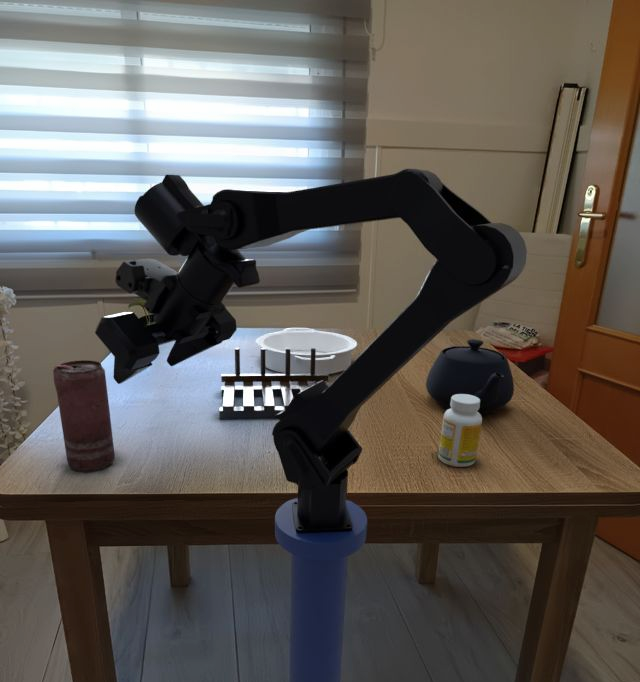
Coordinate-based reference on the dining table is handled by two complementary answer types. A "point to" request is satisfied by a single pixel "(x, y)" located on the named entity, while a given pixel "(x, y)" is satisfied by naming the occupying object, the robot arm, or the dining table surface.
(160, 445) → the dining table surface
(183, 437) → the dining table surface
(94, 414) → the can
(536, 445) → the dining table surface
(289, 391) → the dish rack
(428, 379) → the teapot
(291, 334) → the pot
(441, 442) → the supplement bottle
